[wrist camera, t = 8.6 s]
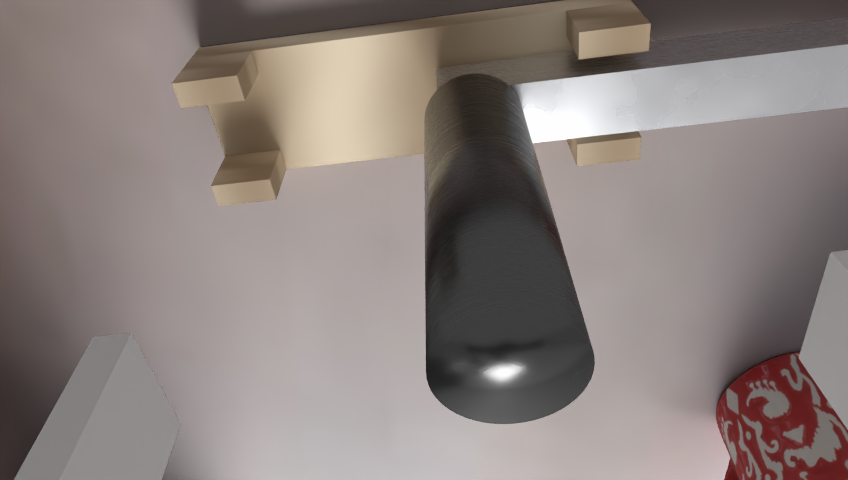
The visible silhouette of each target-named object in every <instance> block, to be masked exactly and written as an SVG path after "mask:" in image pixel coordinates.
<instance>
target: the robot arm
mask: <svg viewBox="0 0 848 480" xmlns="http://www.w3.org/2000/svg"><path fill="white" fill-rule="evenodd" d="M799 360H800V361H801V362H802V364H803V365H804V367H805V368H806V370H807V371H808V373H809V374H810V376H811V377H812V378H813V380H814V381H815V383H816V384H817V386H818V387H819V389H820V390H821V392H822V393H823V395H824V396H825V397H826V399H827V400H828V402H829V403H830V405H831V406H832V408H833V409H834V411H835V412H836V414H837V415H838V416H839V418H840V419H841V421H842V422H843V424H844V425H845V427H846V428H847V430H848V250H844V251H835V252H830V255H829V258H828V262H827V265H826V268H825V272H824V275H823V278H822V282H821V285H820V288H819V292H818V295H817V298H816V302H815V305H814V308H813V311H812V315H811V318H810V321H809V325H808V328H807V331H806V335H805V338H804V341H803V345H802V348H801V351H800V355H799ZM180 426H181V423H180V421H179V419H178V417H177V416H176V414H175V412H174V410H173V408H172V406H171V405H170V403H169V401H168V399H167V397H166V395H165V393H164V392H163V390H162V388H161V386H160V384H159V382H158V381H157V379H156V377H155V375H154V373H153V371H152V369H151V368H150V366H149V364H148V362H147V360H146V358H145V356H144V355H143V353H142V351H141V349H140V347H139V345H138V344H137V342H136V340H135V338H134V336H133V334H132V333H123V334H114V335H106V336H97V337H93V338H92V340H91V342H90V343H89V345H88V347H87V349H86V351H85V352H84V354H83V356H82V358H81V360H80V361H79V363H78V365H77V367H76V369H75V370H74V372H73V374H72V376H71V378H70V379H69V381H68V383H67V385H66V387H65V388H64V390H63V392H62V394H61V396H60V397H59V399H58V401H57V403H56V405H55V406H54V408H53V410H52V412H51V414H50V415H49V417H48V419H47V421H46V423H45V424H44V426H43V428H42V430H41V432H40V433H39V435H38V437H37V439H36V441H35V442H34V444H33V446H32V448H31V450H30V451H29V453H28V455H27V457H26V459H25V461H24V462H23V464H22V466H21V468H20V470H19V471H18V473H17V475H16V477H15V479H14V480H162V478H163V475H164V472H165V469H166V467H167V464H168V461H169V458H170V455H171V452H172V449H173V446H174V443H175V440H176V437H177V435H178V432H179V429H180Z"/></svg>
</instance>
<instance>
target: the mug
mask: <svg viewBox="0 0 848 480" xmlns="http://www.w3.org/2000/svg"><path fill="white" fill-rule="evenodd" d="M799 355H800V352H795V353H790V354H785V355H782V356H778V357H776V358H773V359H770V360H767V361H765V362H763V363H761V364H759V365H757V366H754V367H753V368H751V369H750V370H748V371H746V372H745V373H744V374H742V375H741V376H739V377H738V378H737V379H736V380H735V381H734V382H733V383H732V384H731V385H730V386H729V387H728V388H727V389H726V391H725V392H724V393H723V395H722V396H721V398H720V400H719V403H718V405H717V412H716V420H717V424H718V427H719V430H720V433H721V436H722V438H723V441H724V443H725V445H726V448H727V450H728V452H729V455H730V461H729V465H728V469H727V472H726V475H725V479H724V480H848V430H847V428H846V427H845V425H844V424H843V422H842V421H841V419H840V418H839V416H838V415H837V414H836V412H835V411H834V409H833V408H832V406H831V405H830V403H829V402H828V400H827V399H826V397H825V396H824V395H823V393H822V392H821V390H820V389H819V387H818V386H817V384H816V383H815V381H814V380H813V378H812V377H811V376H810V374H809V373H808V371H807V370H806V368H805V367H804V365H803V364H802V362H801V361H800V360H799Z"/></svg>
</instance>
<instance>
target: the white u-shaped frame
mask: <svg viewBox="0 0 848 480" xmlns="http://www.w3.org/2000/svg"><path fill="white" fill-rule="evenodd" d="M436 81H437V91H436V92H435V93H434V94H433V95H432V97H431V99H430V100H429V102H428V105H427V107H426V111H425V117H424V159H425V291H426V376H427V381H428V384H429V387H430V389H431V391H432V393H433V394H434V395H435V397H436V398H437V399H438V400H439V401H440V402H441V403H442V404H443V405H444V406H445V407H447V408H448V409H450V410H451V411H453V412H455V413H456V414H459V415H461V416H463V417H466V418H469V419H472V420H476V421H480V422H486V423H494V424H513V423H521V422H527V421H532V420H536V419H539V418H543V417H545V416H548V415H550V414H553V413H555V412H557V411H559V410H561V409H562V408H564V407H565V406H567V405H569V404H570V403H571V402H572V401H574V400H575V399H576V398H577V397H578V396H579V395H580V394H581V393H582V392H583V391H584V389H585V388H586V387H587V385H588V383H589V381H590V379H591V377H592V374H593V371H594V364H595V362H594V353H593V349H592V346H591V342H590V339H589V336H588V332H587V329H586V325H585V322H584V318H583V315H582V311H581V308H580V305H579V301H578V298H577V294H576V291H575V287H574V284H573V280H572V277H571V274H570V270H569V267H568V263H567V260H566V256H565V253H564V250H563V246H562V243H561V239H560V236H559V232H558V229H557V225H556V222H555V219H554V215H553V212H552V208H551V205H550V201H549V198H548V194H547V191H546V188H545V184H544V181H543V177H542V174H541V170H540V167H539V163H538V160H537V157H536V153H535V150H534V146H533V143H538V142H547V141H555V140H564V139H573V138H582V137H590V136H599V135H608V134H617V133H626V132H634V131H643V130H652V129H661V128H670V127H678V126H687V125H696V124H705V123H713V122H722V121H731V120H740V119H749V118H757V117H766V116H775V115H784V114H792V113H801V112H810V111H819V110H828V109H836V108H845V107H848V17H844V18H836V19H828V20H820V21H812V22H804V23H796V24H788V25H780V26H772V27H763V28H755V29H747V30H739V31H731V32H723V33H715V34H707V35H699V36H691V37H683V38H675V39H666V40H658V41H650V42H649V51H644V52H636V53H628V54H620V55H612V56H604V57H595V58H587V59H578V57H577V55H576V53H575V51H569V52H561V53H553V54H545V55H537V56H529V57H521V58H513V59H505V60H497V61H489V62H481V63H472V64H464V65H456V66H448V67H440V68H436Z"/></svg>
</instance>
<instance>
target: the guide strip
mask: <svg viewBox="0 0 848 480" xmlns="http://www.w3.org/2000/svg"><path fill="white" fill-rule="evenodd" d="M650 29H651V23H650V22H649V21H648V19H647V18H646V17H645V16H644V15H643V14H642V13H641V11H640V10H639V9H638V8H637V7H636V6H635V5H634V3H633V2H632V1H631V0H563V1H555V2H547V3H540V4H532V5H524V6H517V7H509V8H501V9H493V10H486V11H478V12H470V13H463V14H455V15H447V16H439V17H432V18H424V19H416V20H409V21H401V22H393V23H385V24H378V25H370V26H362V27H355V28H347V29H339V30H331V31H324V32H316V33H308V34H300V35H293V36H285V37H277V38H270V39H262V40H254V41H246V42H239V43H231V44H223V45H216V46H208V47H200V48H199V49H198V50H197V51H196V53H195V54H194V55H193V57H192V58H191V59H190V61H189V62H188V63H187V64H186V66H185V67H184V68H183V70H182V71H181V72H180V73H179V75H178V76H177V77H176V79H175V80H174V81H173V82H172V86H173V89H174V91H175V94H176V96H177V99H178V102H179V104H180V107H181V108H188V107H196V106H204V105H208V108H209V111H210V114H211V117H212V119H213V122H214V125H215V128H216V131H217V134H218V136H219V139H220V142H221V145H222V148H223V150H224V153H225V158H224V160H223V162H222V164H221V166H220V168H219V170H218V172H217V174H216V176H215V178H214V180H213V182H212V184H211V188H212V191H213V193H214V196H215V198H216V201H217V204H218V206H223V205H232V204H241V203H250V202H259V201H268V200H276V199H277V195H278V192H279V189H280V186H281V183H282V180H283V177H284V174H285V171H286V169H293V168H302V167H311V166H319V165H328V164H337V163H346V162H354V161H363V160H372V159H381V158H389V157H398V156H407V155H416V154H424V117H425V111H426V107H427V105H428V102H429V100H430V99H431V97H432V95H433V94H434V93H435V92H436V91H437V81H436V68H440V67H448V66H456V65H464V64H472V63H481V62H489V61H497V60H505V59H513V58H521V57H529V56H537V55H545V54H553V53H561V52H569V51H575V53H576V55H577V57H578V59H587V58H595V57H604V56H612V55H620V54H628V53H636V52H644V51H649V41H650ZM641 138H642V137H641V136H640V134H639V132H638V131H634V132H626V133H617V134H608V135H599V136H590V137H582V138H573V139H567V142H568V144H569V147H570V149H571V152H572V155H573V157H574V160H575V162H576V165H577V166H585V165H594V164H603V163H612V162H621V161H630V160H639V159H640V150H641Z"/></svg>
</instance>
